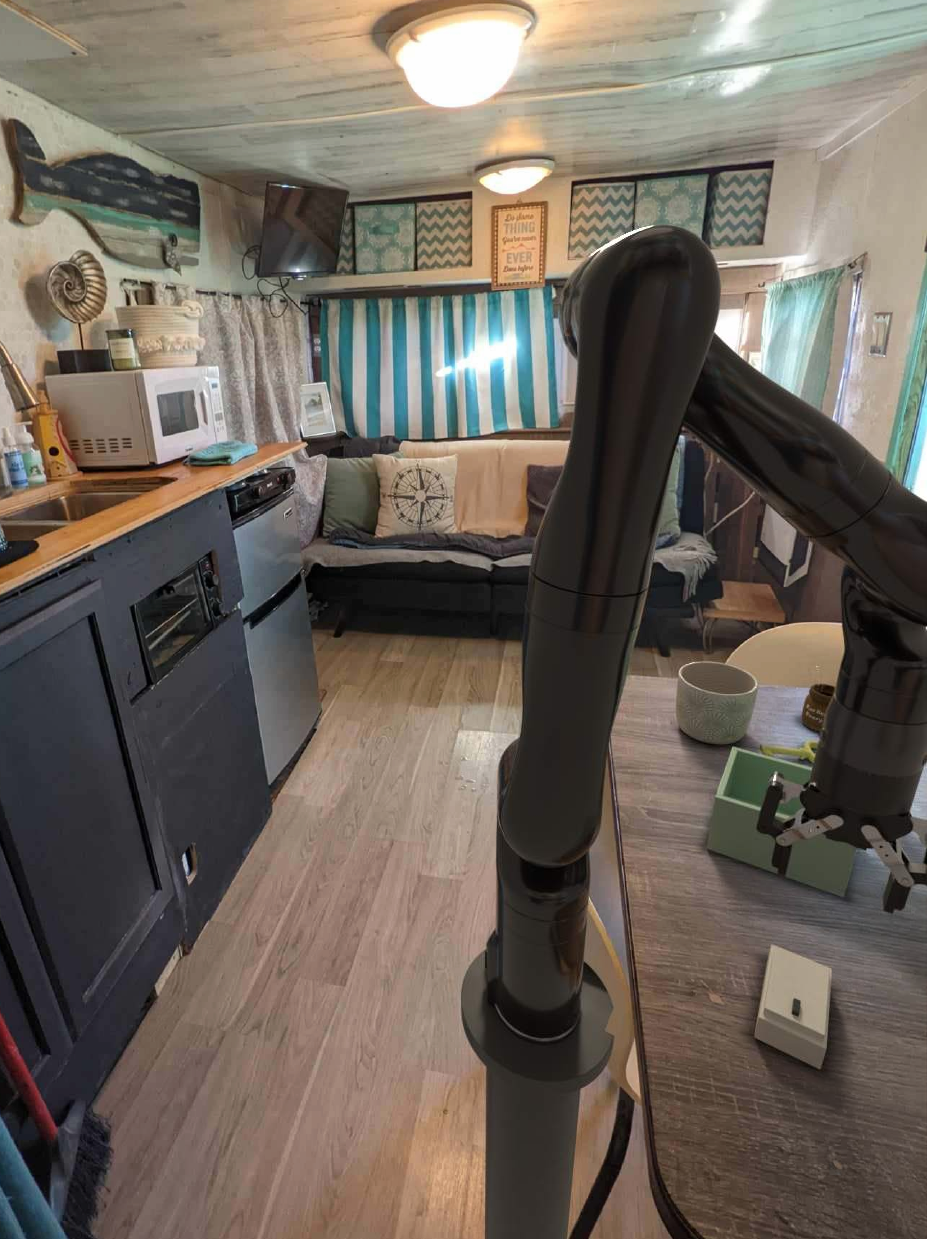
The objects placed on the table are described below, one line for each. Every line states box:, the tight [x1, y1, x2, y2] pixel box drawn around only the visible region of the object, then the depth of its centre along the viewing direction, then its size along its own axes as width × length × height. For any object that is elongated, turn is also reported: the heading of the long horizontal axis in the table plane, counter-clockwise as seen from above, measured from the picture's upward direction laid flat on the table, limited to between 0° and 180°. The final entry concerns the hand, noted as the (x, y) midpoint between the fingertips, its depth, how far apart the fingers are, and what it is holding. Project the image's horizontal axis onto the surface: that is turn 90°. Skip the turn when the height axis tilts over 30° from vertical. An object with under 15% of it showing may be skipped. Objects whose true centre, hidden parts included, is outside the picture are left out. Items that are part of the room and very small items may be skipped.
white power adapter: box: [753, 944, 833, 1070], centre depth 66 cm, size 10×6×4 cm, turn 144°
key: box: [758, 740, 819, 764], centre depth 104 cm, size 7×12×2 cm, turn 99°
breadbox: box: [706, 746, 858, 898], centre depth 87 cm, size 16×14×9 cm
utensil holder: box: [800, 666, 835, 733], centre depth 112 cm, size 6×6×12 cm
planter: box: [675, 661, 760, 745], centre depth 112 cm, size 12×12×11 cm
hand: (832, 887), depth 62 cm, fingers open, 8 cm apart
